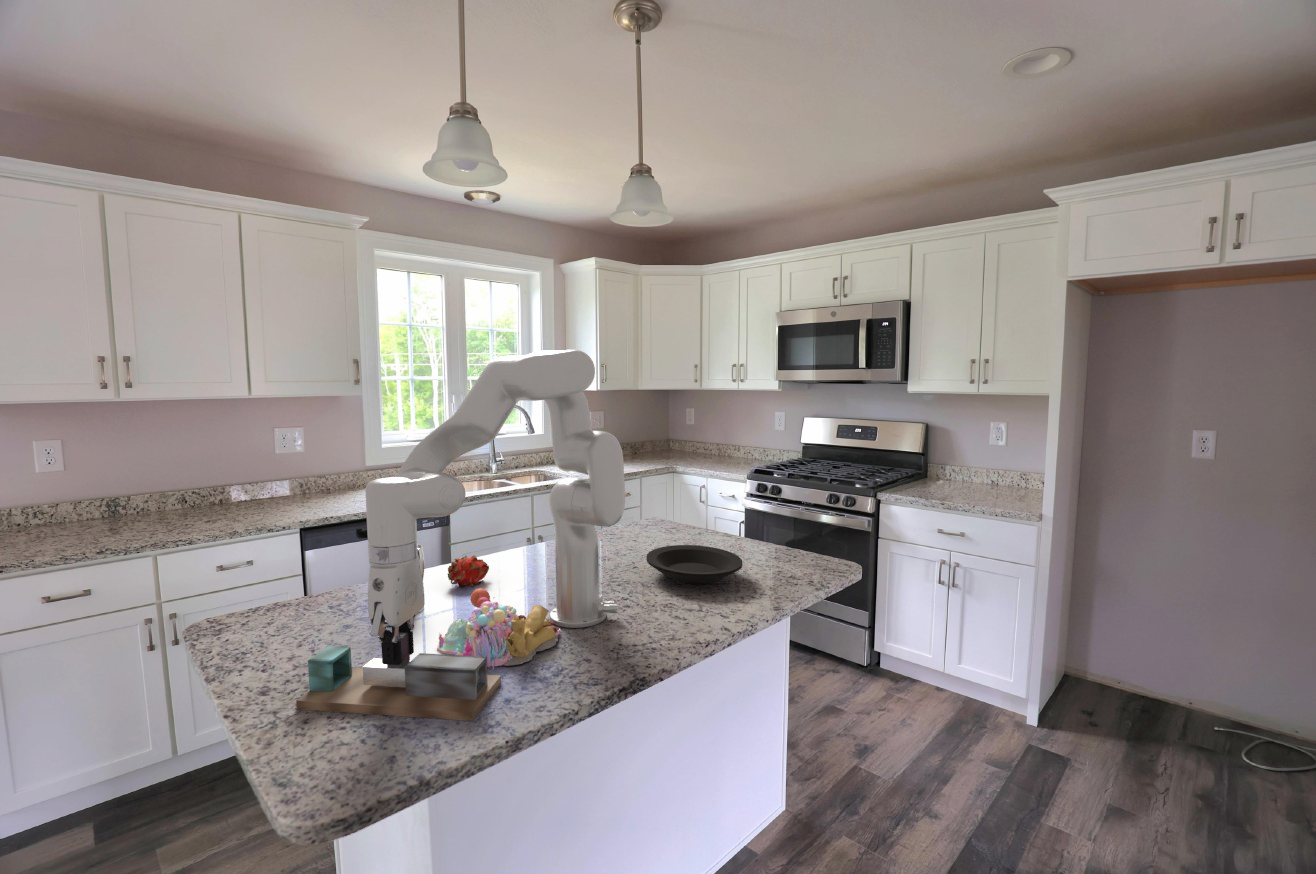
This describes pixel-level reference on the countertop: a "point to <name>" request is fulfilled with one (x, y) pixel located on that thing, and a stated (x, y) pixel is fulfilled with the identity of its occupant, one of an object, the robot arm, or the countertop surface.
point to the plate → (694, 563)
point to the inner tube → (391, 668)
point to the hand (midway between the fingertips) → (398, 657)
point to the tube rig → (429, 690)
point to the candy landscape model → (499, 633)
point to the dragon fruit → (467, 571)
